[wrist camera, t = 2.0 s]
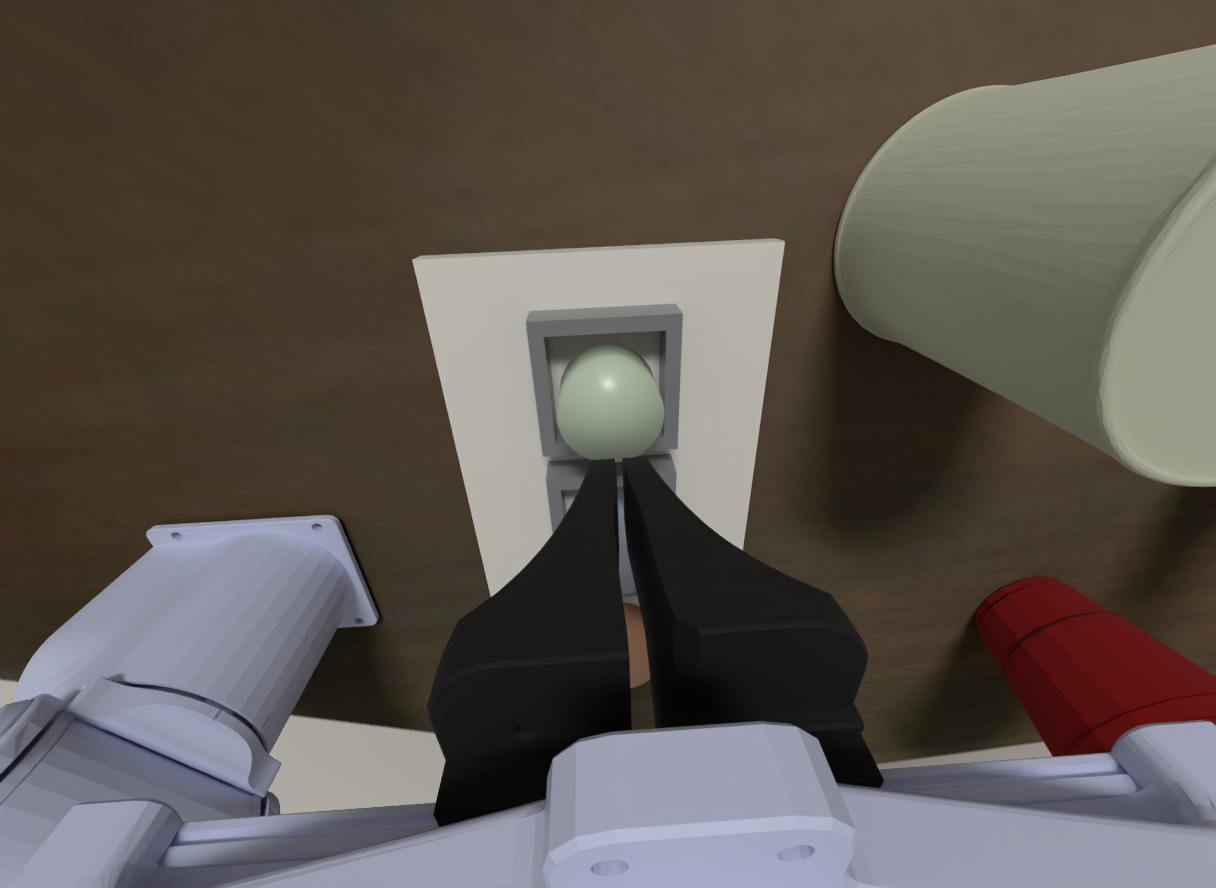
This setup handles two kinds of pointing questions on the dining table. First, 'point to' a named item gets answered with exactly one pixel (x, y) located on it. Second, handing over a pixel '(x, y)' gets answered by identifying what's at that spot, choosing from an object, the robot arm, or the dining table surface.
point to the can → (1058, 253)
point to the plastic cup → (1087, 667)
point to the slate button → (624, 553)
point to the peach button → (636, 645)
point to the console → (574, 321)
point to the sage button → (609, 404)
